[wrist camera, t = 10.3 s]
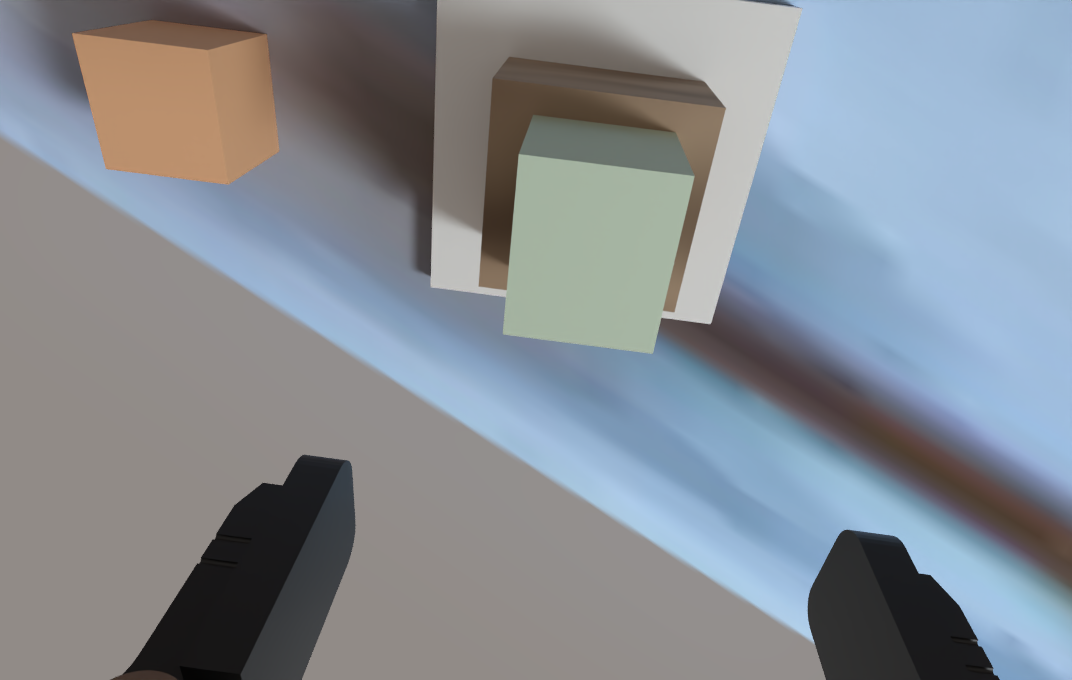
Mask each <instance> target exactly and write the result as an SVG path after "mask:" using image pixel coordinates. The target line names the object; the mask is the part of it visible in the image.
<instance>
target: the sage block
mask: <svg viewBox="0 0 1072 680" xmlns="http://www.w3.org/2000/svg"><path fill="white" fill-rule="evenodd" d="M694 177H695V176H694V173H693V171H692V169H691V166H690V164H689V162H688V159H687V157H686V155H685V153H684V150H683V148H682V146H681V143H680V141H679V139H678V136H677V134H676V132H668V131H660V130H651V129H643V128H635V127H627V126H619V125H611V124H603V123H595V122H587V121H579V120H571V119H563V118H555V117H547V116H539V115H533V117H532V120H531V122H530V125H529V128H528V130H527V133H526V136H525V139H524V141H523V144H522V147H521V149H520V152H519V157H518V168H517V180H516V191H515V202H514V214H513V225H512V236H511V247H510V259H509V270H508V281H507V293H506V304H505V315H504V326H503V334H504V335H512V336H520V337H528V338H535V339H543V340H551V341H558V342H566V343H574V344H582V345H589V346H597V347H605V348H613V349H620V350H628V351H636V352H644V353H651V354H653V350H654V346H655V342H656V337H657V333H658V329H659V325H660V321H661V316H662V312H663V308H664V304H665V299H666V295H667V291H668V287H669V283H670V278H671V274H672V270H673V266H674V261H675V257H676V253H677V249H678V245H679V240H680V236H681V232H682V228H683V223H684V219H685V215H686V211H687V207H688V202H689V198H690V194H691V190H692V185H693V181H694Z"/></svg>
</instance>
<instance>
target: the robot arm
mask: <svg viewBox="0 0 1072 680" xmlns="http://www.w3.org/2000/svg"><path fill="white" fill-rule="evenodd" d="M354 535H355V509H354V493H353V478H352V466H351V463H350V462H349V461H347V460H339V459H332V458H324V457H316V456H310V455H302V456H301V457H300V458H299V459H298V460H297V462H296V463H295V465H294V467H293V468H292V470H291V472H290V474H289V475H288V477H287V479H286V481H285V483H284V484H283V486H282V485H275V484H267V483H262V484H261V485H260V486H258V487H257V488H256V489H255V490H253V491H252V492H251V493H250V494H248V495H247V496H246V497H244V498H243V499H242V500H241V501H239V502H238V503H237V504H236V505H234V507H233V509H232V510H231V512H230V513H229V515H228V516H227V518H226V519H225V521H224V523H223V524H222V526H221V527H220V529H219V531H218V532H217V534H216V538H215V540H212V542H211V543H210V545H209V546H208V548H207V549H206V551H205V552H204V554H203V555H202V557H201V562H200V563H199V564H197V565H196V566H195V568H194V570H193V571H192V573H191V574H190V576H189V577H188V579H187V581H186V582H185V583H184V585H183V587H182V588H181V590H180V591H179V593H178V594H177V596H176V598H175V599H174V601H173V602H172V604H171V605H170V607H169V608H168V610H167V612H166V613H165V615H164V616H163V618H162V619H161V621H160V623H159V624H158V626H157V627H156V629H155V631H154V632H153V634H152V635H151V637H150V638H149V640H148V641H147V643H146V645H145V646H144V648H143V649H142V651H141V652H140V654H139V655H138V657H137V658H136V659H135V661H134V662H133V664H132V665H131V666H130V667H129V668H128V669H127V670H126V672H124V673H123V674H122V675H120V676H118V677H115V678H113V679H111V680H302V677H303V675H304V672H305V670H306V667H307V665H308V662H309V660H310V657H311V655H312V652H313V650H314V647H315V644H316V642H317V639H318V637H319V635H320V632H321V630H322V627H323V625H324V622H325V620H326V617H327V614H328V612H329V610H330V607H331V605H332V602H333V599H334V597H335V594H336V592H337V589H338V587H339V584H340V582H341V579H342V577H343V574H344V572H345V569H346V567H347V564H348V562H349V558H350V555H351V552H352V547H353V543H354ZM808 620H809V625H810V629H811V633H812V636H813V639H814V642H815V645H816V649H817V652H818V655H819V658H820V662H821V664H822V668H823V671H824V674H825V677H826V680H1000V679H999V678H998V676H996V675H994V674H993V667H992V665H991V663H990V661H989V659H988V657H987V656H986V654H985V652H984V650H983V648H982V647H980V646H978V644H977V641H978V639H977V637H976V635H975V634H974V632H973V630H972V628H971V626H970V624H969V623H968V621H967V619H966V617H965V615H964V613H963V612H962V610H961V608H960V606H959V605H958V604H957V603H956V602H955V601H954V600H953V599H952V598H951V597H950V596H949V594H948V593H947V592H946V591H945V590H944V589H943V588H942V587H941V586H940V585H939V584H938V583H937V582H936V581H935V580H934V579H933V577H932V576H931V575H925V574H919V573H918V571H917V569H916V567H915V565H914V564H913V562H912V560H911V558H910V556H909V554H908V552H907V550H906V548H905V546H904V544H903V543H902V542H901V541H900V540H899V539H898V538H897V537H895V536H890V535H882V534H875V533H867V532H860V531H853V530H844V531H843V532H841V533H840V534H839V536H838V538H837V539H836V541H835V543H834V545H833V547H832V549H831V551H830V553H829V555H828V557H827V559H826V560H825V562H824V564H823V566H822V568H821V570H820V572H819V574H818V576H817V578H816V580H815V582H814V583H813V585H812V588H811V590H810V593H809V598H808Z"/></svg>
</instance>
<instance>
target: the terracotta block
mask: <svg viewBox="0 0 1072 680" xmlns="http://www.w3.org/2000/svg"><path fill="white" fill-rule="evenodd" d="M72 36H73V40H74V44H75V48H76V52H77V56H78V60H79V64H80V68H81V72H82V75H83V79H84V83H85V87H86V91H87V95H88V99H89V103H90V107H91V111H92V115H93V119H94V123H95V127H96V131H97V135H98V139H99V143H100V147H101V151H102V155H103V159H104V163H105V167H106V169H110V170H118V171H126V172H134V173H142V174H149V175H157V176H165V177H173V178H181V179H189V180H197V181H204V182H212V183H220V184H230V183H231V182H233V181H235V180H236V179H238V178H239V177H241V176H242V175H244V174H245V173H247V172H248V171H250V170H251V169H253V168H254V167H256V166H258V165H259V164H261V163H262V162H264V161H265V160H267V159H268V158H270V157H271V156H273V155H274V154H276V153H278V152H279V144H278V135H277V125H276V116H275V106H274V97H273V88H272V78H271V69H270V60H269V50H268V41H267V34H261V33H253V32H245V31H237V30H229V29H221V28H213V27H205V26H197V25H189V24H181V23H172V22H164V21H156V20H148V21H142V22H136V23H130V24H124V25H118V26H112V27H106V28H100V29H94V30H88V31H82V32H76V33H72Z"/></svg>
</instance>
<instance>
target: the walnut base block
mask: <svg viewBox="0 0 1072 680" xmlns="http://www.w3.org/2000/svg"><path fill="white" fill-rule="evenodd" d="M725 110H726V107H725V106H724V105H723V104H722V102H721V101H720V100H719V99H718V98H717V96H716V95H715V94H714V93H713V91H712V90H711V89H710V88H709V86H708V85H707V84H706V83H705V82H703V81H695V80H687V79H680V78H672V77H664V76H656V75H648V74H640V73H633V72H625V71H617V70H609V69H601V68H594V67H586V66H578V65H570V64H562V63H555V62H547V61H539V60H531V59H523V58H515V57H509V58H508V59H507V60H506V61H505V63H504V64H503V65H502V67H501V68H500V69H499V70H498V72H497V73H496V74H495V75H494V77H493V78H492V92H491V107H490V122H489V137H488V152H487V167H486V182H485V197H484V212H483V227H482V242H481V257H480V272H479V287H486V288H493V289H501V290H507V281H508V270H509V259H510V247H511V236H512V225H513V214H514V202H515V191H516V180H517V168H518V157H519V152H520V149H521V147H522V144H523V141H524V139H525V136H526V133H527V130H528V128H529V125H530V122H531V120H532V117H533V115H539V116H547V117H555V118H563V119H571V120H579V121H587V122H595V123H603V124H611V125H619V126H627V127H635V128H643V129H651V130H660V131H668V132H676V134H677V136H678V139H679V141H680V143H681V146H682V148H683V150H684V153H685V155H686V157H687V159H688V162H689V164H690V166H691V169H692V171H693V173H694V176H695V177H694V181H693V185H692V190H691V194H690V198H689V202H688V207H687V211H686V215H685V219H684V223H683V228H682V232H681V236H680V240H679V245H678V249H677V253H676V257H675V261H674V266H673V270H672V274H671V278H670V283H669V287H668V291H667V295H666V299H665V304H664V308H663V311H667V312H675V308H676V304H677V300H678V296H679V292H680V288H681V284H682V280H683V276H684V272H685V268H686V264H687V260H688V256H689V253H690V249H691V245H692V241H693V237H694V233H695V229H696V225H697V221H698V217H699V213H700V209H701V205H702V201H703V197H704V193H705V189H706V185H707V181H708V177H709V173H710V169H711V166H712V162H713V158H714V154H715V150H716V146H717V142H718V138H719V134H720V130H721V126H722V122H723V118H724V114H725Z"/></svg>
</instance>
